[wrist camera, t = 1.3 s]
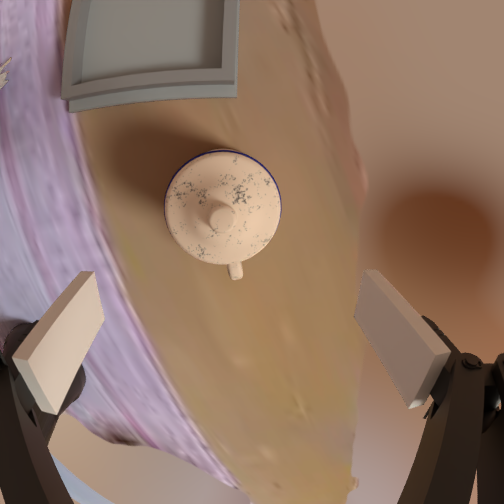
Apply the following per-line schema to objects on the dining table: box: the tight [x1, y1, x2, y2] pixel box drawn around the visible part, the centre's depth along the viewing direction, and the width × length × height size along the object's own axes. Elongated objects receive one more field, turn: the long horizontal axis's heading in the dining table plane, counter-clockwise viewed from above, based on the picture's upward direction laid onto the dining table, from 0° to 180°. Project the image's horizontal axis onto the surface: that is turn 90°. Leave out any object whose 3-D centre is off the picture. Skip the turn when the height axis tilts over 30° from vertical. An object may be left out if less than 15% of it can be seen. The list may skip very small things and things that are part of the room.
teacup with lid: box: [164, 149, 281, 280], centre depth 26 cm, size 12×9×12 cm
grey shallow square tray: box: [61, 0, 240, 113], centre depth 22 cm, size 18×16×3 cm
